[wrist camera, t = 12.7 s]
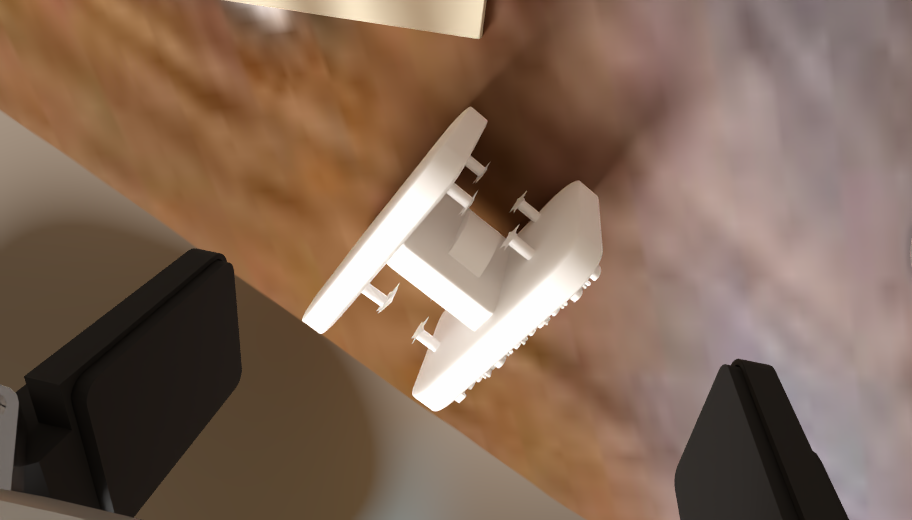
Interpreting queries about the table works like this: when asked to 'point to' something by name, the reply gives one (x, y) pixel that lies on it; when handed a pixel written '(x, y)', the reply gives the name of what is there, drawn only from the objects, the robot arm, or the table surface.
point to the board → (397, 13)
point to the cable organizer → (468, 265)
